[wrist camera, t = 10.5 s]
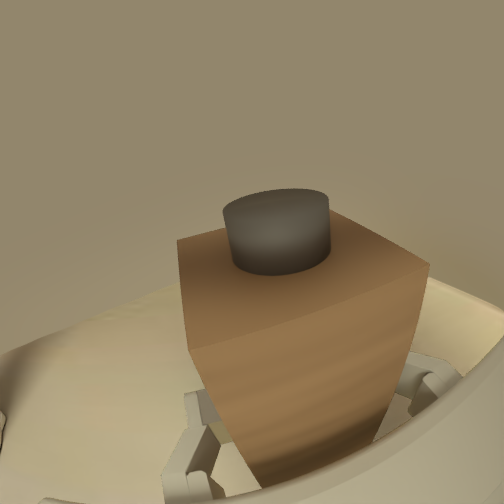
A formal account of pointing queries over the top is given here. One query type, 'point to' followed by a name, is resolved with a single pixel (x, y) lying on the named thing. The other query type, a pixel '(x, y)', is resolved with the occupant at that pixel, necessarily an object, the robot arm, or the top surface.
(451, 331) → the top surface
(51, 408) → the top surface
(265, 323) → the walnut toggle block
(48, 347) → the top surface
